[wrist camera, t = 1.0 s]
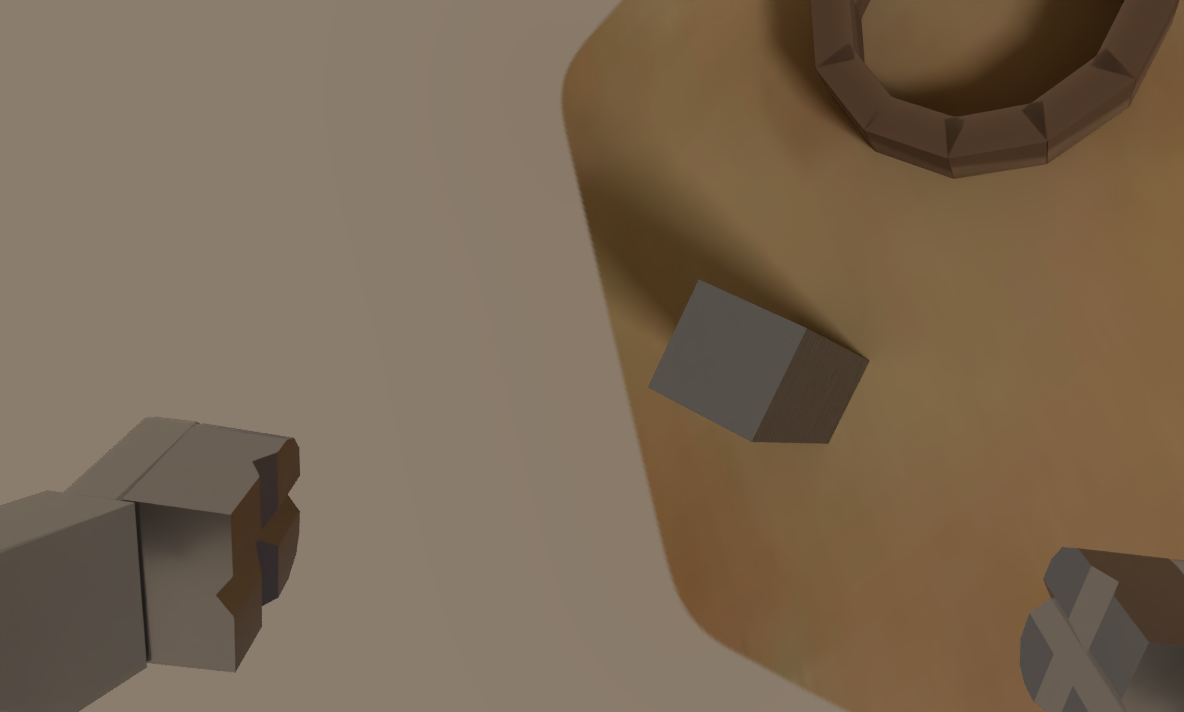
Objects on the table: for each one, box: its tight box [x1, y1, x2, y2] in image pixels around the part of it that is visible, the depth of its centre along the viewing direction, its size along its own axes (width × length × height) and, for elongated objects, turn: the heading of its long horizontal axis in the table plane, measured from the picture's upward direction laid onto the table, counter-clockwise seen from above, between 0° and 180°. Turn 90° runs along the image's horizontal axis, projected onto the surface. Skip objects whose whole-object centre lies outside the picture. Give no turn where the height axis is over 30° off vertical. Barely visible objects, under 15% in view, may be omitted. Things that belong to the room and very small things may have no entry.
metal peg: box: [648, 280, 869, 444], centre depth 35 cm, size 4×4×12 cm
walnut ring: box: [811, 0, 1179, 179], centre depth 38 cm, size 13×13×3 cm
